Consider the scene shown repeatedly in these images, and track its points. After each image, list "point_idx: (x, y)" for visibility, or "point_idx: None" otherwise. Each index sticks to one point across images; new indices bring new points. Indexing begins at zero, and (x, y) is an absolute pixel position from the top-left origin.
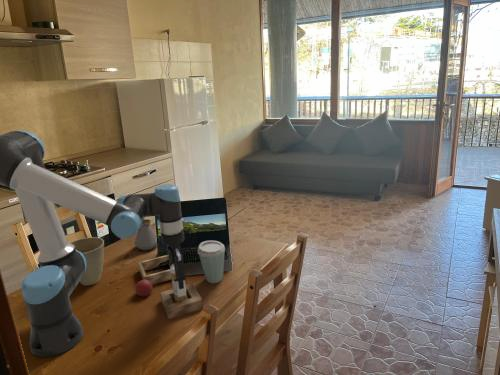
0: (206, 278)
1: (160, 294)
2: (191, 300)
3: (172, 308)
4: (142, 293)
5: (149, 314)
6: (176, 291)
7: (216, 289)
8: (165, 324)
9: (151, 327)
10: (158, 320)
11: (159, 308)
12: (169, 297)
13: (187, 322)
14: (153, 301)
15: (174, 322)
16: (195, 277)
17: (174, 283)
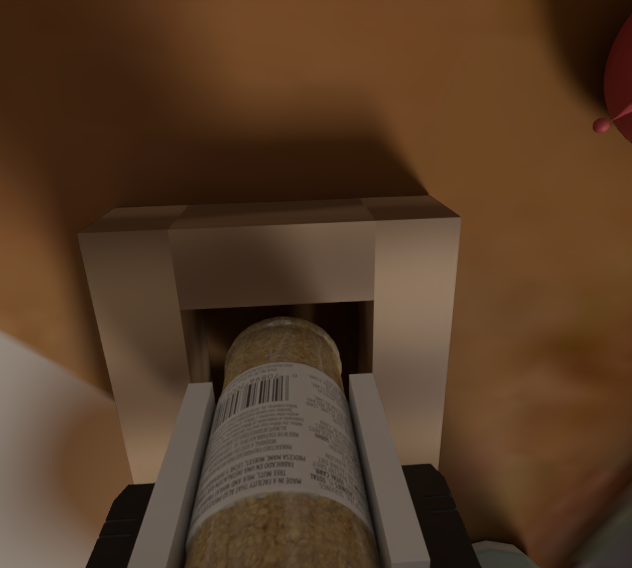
0: (487, 563)
1: (430, 216)
2: (163, 451)
3: (91, 281)
4: (628, 27)
5: (265, 44)
6: (222, 410)
7: None
8: (44, 162)
9: (34, 22)
10: (129, 112)
11: (319, 158)
12: (310, 291)
13: (19, 330)
14: (466, 126)
15: (50, 239)
16: (587, 489)
17: (220, 485)
